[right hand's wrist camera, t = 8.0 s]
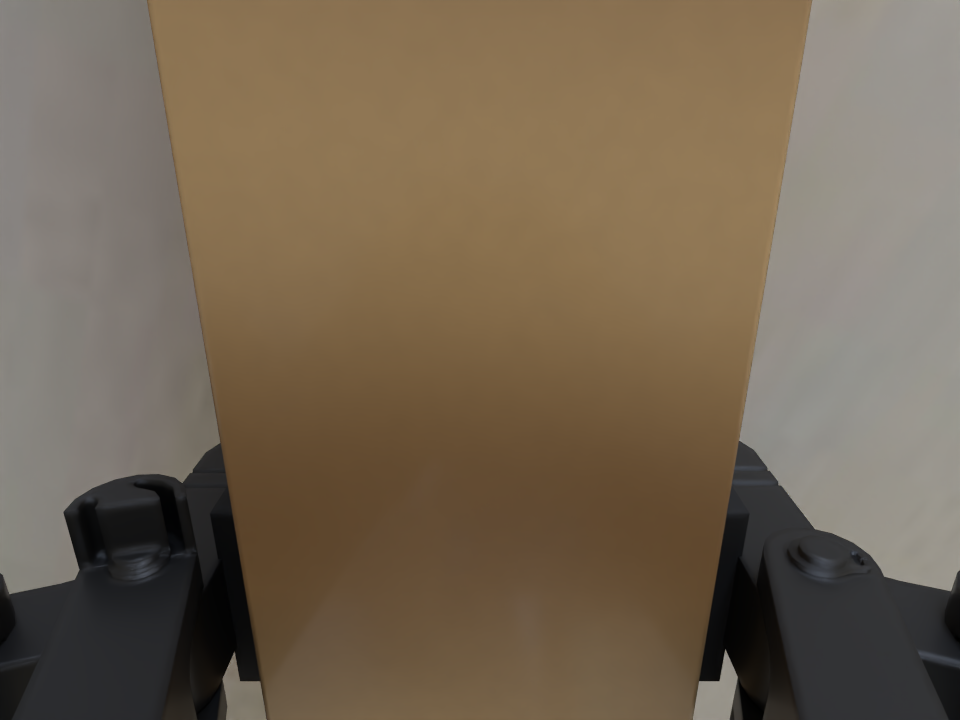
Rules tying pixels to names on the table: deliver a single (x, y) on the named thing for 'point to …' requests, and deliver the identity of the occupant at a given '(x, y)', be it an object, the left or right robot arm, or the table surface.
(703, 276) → the bar
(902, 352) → the table surface
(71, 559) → the table surface
